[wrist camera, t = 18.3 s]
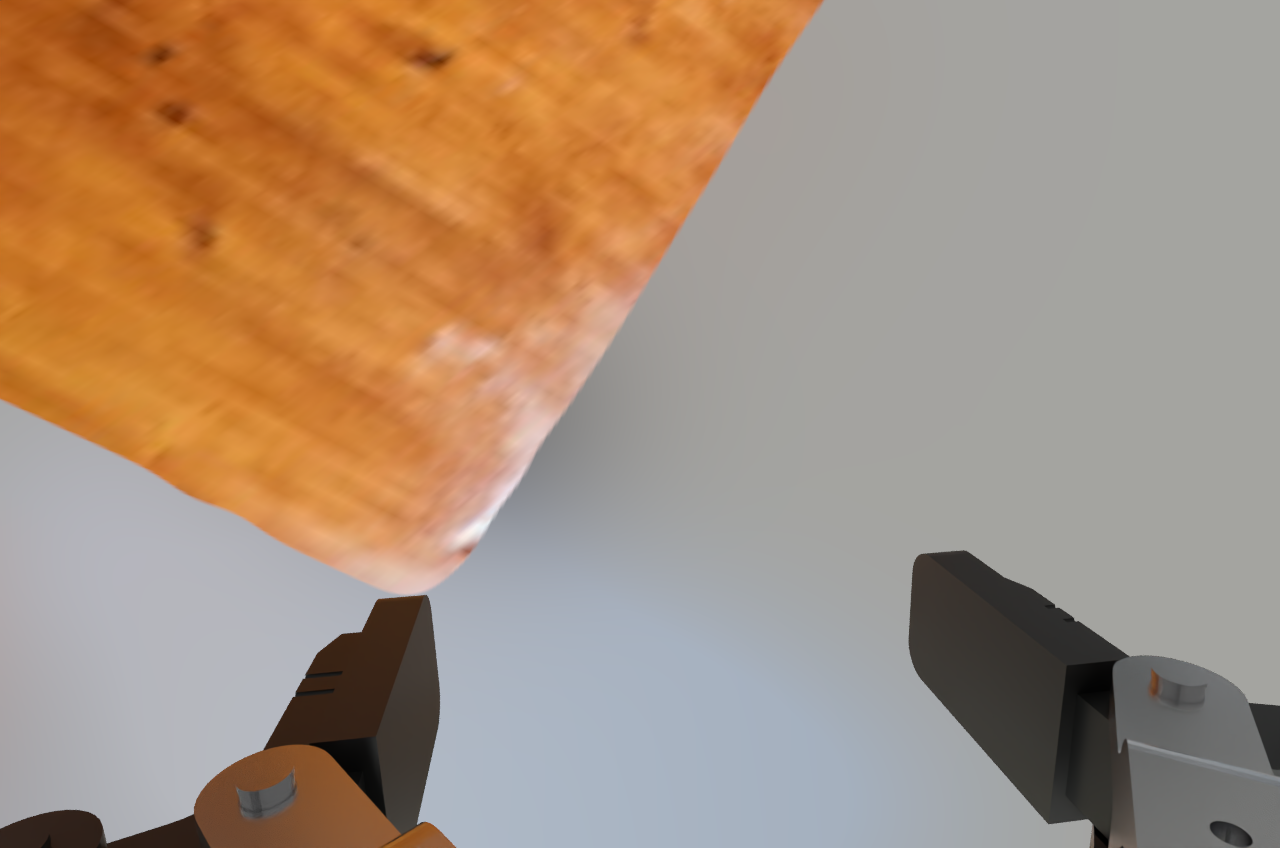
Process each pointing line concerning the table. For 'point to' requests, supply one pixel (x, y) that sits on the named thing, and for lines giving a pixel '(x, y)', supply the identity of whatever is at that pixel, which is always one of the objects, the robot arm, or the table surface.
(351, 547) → the table surface
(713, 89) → the table surface
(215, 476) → the table surface
